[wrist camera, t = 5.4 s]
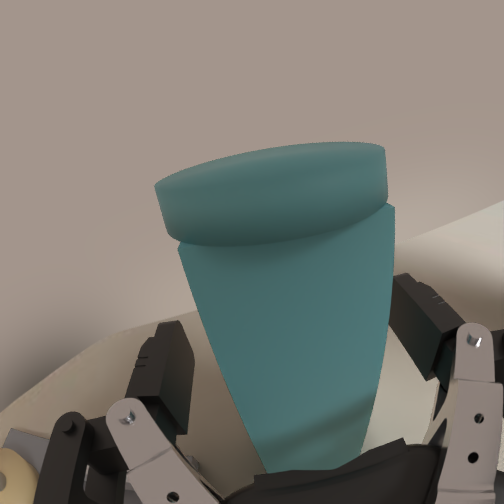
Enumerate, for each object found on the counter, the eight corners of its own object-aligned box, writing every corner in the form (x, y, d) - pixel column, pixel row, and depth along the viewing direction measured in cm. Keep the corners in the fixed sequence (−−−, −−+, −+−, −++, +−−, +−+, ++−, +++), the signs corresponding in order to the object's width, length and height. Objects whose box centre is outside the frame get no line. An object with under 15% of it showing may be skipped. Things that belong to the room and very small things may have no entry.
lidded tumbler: (343, 402, 14) (335, 138, 9) (368, 475, 10) (436, 155, 4) (256, 421, 14) (178, 167, 9) (264, 499, 10) (116, 213, 4)
